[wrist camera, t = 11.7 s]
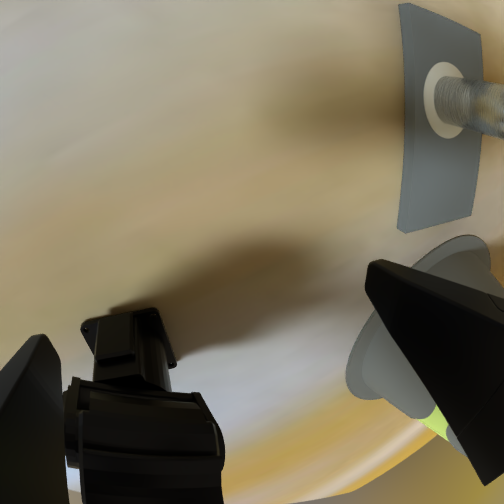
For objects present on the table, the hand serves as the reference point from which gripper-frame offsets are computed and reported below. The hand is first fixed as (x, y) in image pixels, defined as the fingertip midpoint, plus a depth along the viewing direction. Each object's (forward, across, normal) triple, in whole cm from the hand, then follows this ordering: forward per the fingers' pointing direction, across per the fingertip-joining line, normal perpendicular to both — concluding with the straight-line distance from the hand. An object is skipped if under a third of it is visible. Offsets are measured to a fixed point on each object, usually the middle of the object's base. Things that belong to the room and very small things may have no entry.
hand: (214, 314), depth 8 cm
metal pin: (+12, -23, -5) cm, 26 cm away
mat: (+13, -24, -3) cm, 27 cm away
